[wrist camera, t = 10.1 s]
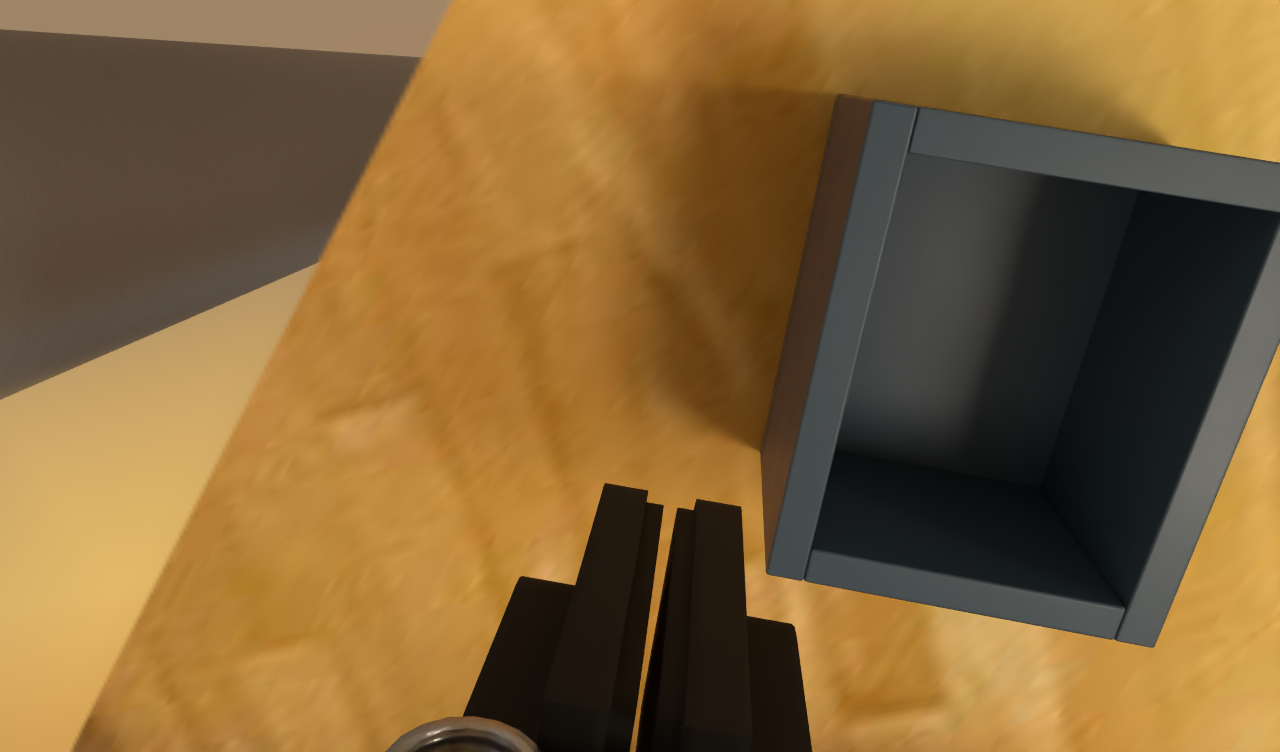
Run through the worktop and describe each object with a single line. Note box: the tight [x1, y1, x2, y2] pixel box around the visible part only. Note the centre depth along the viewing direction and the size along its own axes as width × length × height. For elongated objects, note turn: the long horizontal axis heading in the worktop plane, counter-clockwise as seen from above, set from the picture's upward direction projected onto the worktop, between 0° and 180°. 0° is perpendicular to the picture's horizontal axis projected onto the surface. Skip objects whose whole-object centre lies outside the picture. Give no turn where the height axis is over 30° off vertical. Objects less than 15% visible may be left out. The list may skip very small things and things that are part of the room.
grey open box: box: [760, 94, 1280, 648], centre depth 24 cm, size 8×12×10 cm
